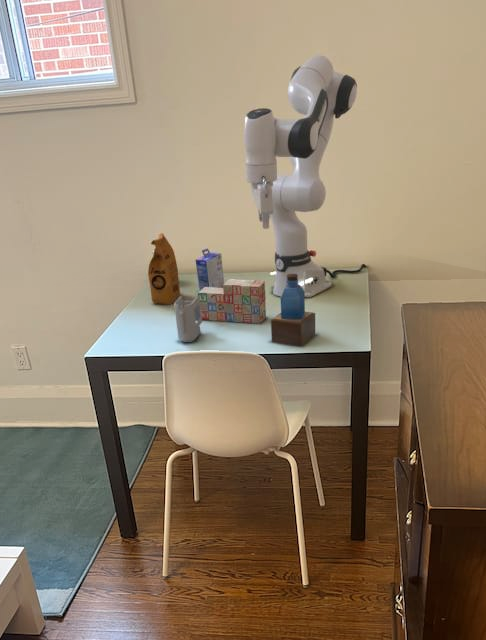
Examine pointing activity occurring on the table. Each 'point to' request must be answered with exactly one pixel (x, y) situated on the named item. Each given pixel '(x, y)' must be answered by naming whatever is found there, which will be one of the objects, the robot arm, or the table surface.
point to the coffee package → (163, 273)
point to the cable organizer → (188, 319)
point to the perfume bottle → (292, 299)
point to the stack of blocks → (234, 302)
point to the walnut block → (293, 329)
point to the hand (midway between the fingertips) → (264, 224)
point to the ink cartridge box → (210, 270)
